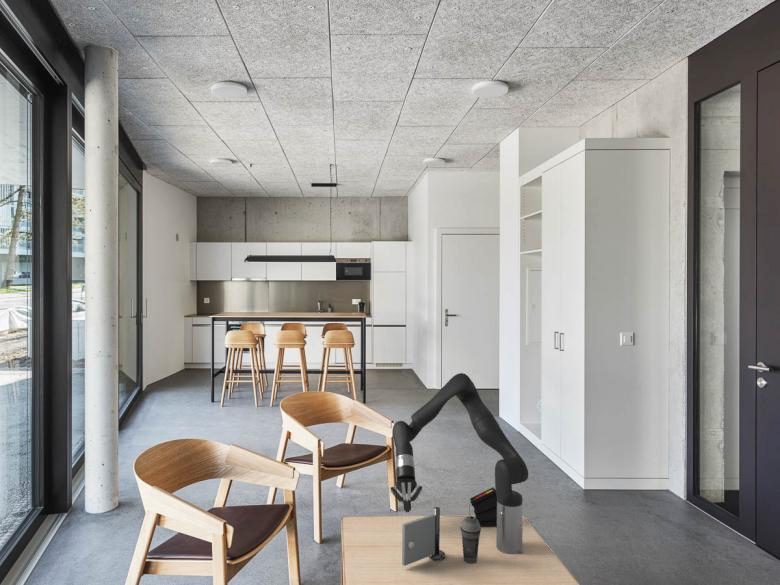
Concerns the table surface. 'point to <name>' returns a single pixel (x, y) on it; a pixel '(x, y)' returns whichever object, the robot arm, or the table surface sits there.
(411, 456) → the robot arm
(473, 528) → the beverage cup
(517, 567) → the table surface
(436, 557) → the hinge post
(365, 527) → the table surface
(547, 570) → the table surface
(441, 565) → the table surface
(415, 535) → the door
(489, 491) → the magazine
